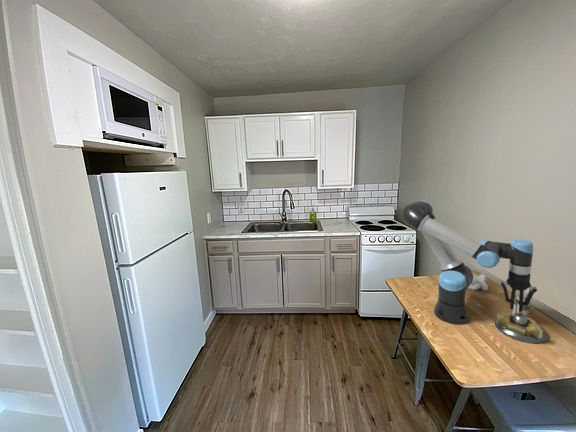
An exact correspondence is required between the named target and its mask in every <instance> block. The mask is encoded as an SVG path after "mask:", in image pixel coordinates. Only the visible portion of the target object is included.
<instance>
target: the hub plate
mask: <svg viewBox="0 0 576 432" xmlns="http://www.w3.org/2000/svg"><path fill="white" fill-rule="evenodd" d="M493 322H494V323H493V324H494V327H495V328H496V329H497V331H499V332H500V333H502V335H504V336H506V337H508V338H511V339H513V340H515V341H518V342H521V343H526V344H527V343H528V344H533V345H534V344H536V345H538V344H543V343H545V342H547V339H548V333H547V331H546V330H545V329H544V328H543V327H542V326H540V325H539V327H540V329H542V330H543V334H542V338H539V339H538V338H537V337H535V336H534V335H531V336H527V335H525V336H524V335H521V334H519V333H516V332H513V331H511V330H508V328H505V326H504V325H503V324H498V323H496V317H495V318H494V321H493ZM510 322H511V323H513V321H510ZM527 327H528V325H527Z"/></svg>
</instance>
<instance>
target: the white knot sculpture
mask: <svg viewBox="0 0 576 432" xmlns="http://www.w3.org/2000/svg"><path fill="white" fill-rule="evenodd" d="M468 289H469V290H473V291H477V290H479V289H481V290H482V291H487V290H488V289H489V285H488V284H487V282H486V275H485V274H483V273H481V274H479V275H477V274H475V273H473V281H472V283H471V284H470V286H469V287H468Z"/></svg>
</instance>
